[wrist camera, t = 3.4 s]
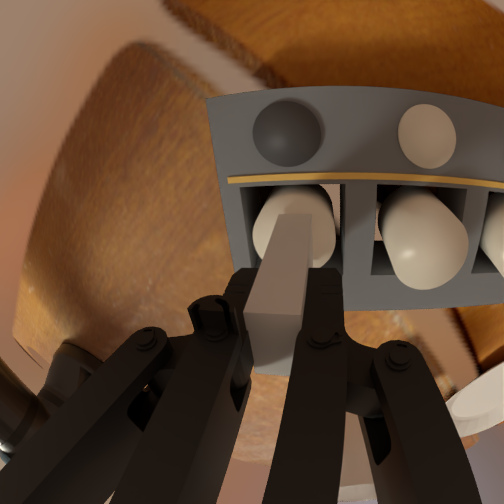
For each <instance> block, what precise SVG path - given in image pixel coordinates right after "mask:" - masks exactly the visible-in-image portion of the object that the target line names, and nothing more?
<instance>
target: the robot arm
mask: <svg viewBox="0 0 504 504" xmlns="http://www.w3.org/2000/svg"><path fill="white" fill-rule="evenodd" d="M187 309H188V312H189V315H190V318H191V321H192V324H193V327H194V330H195V331H194V333H193V334H190V335H185V336H177V337H169V338H168V337H167V335H166V332H165V331H164V330H162V329H161V328H159V327H145V328H143V329H140V330H138V331H137V332H135V333H134V334H132V335H131V336H130V337H129V338H128V339H127V340H126V341H125V342H124V343H123V344H122V345H121V346H120V347H119V348H118V349H117V350H116V351H115V352H114V353H113V354H112V355H111V356H110V357H109V358H108V359H107V360H106V361H105V362H104V363H102V362H100V361H99V360H98V359H96V358H95V357H93V356H92V355H90V354H89V353H87V352H86V351H84V350H82V349H80V348H78V347H76V346H74V345H71V344H62V345H61V346H60V347H59V348H58V349H57V351H56V352H55V354H54V356H53V361H52V363H51V366H50V368H49V372H48V375H47V378H46V381H45V384H44V386H43V388H42V389H41V390H40V392H39V393H38V395H37V396H36V395H35V394H34V393H33V392H32V391H31V390H30V389H29V388H28V387H27V386H26V385H25V384H24V383H23V382H22V381H21V380H20V379H19V378H18V377H17V376H16V374H15V373H14V372H13V371H12V370H11V369H10V368H9V367H8V366H7V364H6V363H5V362H4V361H3V360H2V359H1V357H0V457H1V459H2V460H3V461H4V462H5V463H6V465H5V466H4V467H3V469H2V470H1V471H0V504H104V503H105V502H106V501H107V499H108V498H109V497H110V496H111V495H112V493H113V492H114V491H115V492H114V494H113V496H112V499H111V501H110V503H109V504H216V502H217V498H218V496H219V492H220V490H221V486H222V483H223V480H224V477H225V474H226V471H227V468H228V464H229V461H230V458H231V455H232V452H233V448H234V445H235V442H236V438H237V435H238V432H239V428H240V425H241V421H242V418H243V415H244V411H245V408H246V404H247V401H248V397H249V394H250V390H251V377H250V374H251V371H252V367H253V365H254V370H255V373H259V374H269V375H282V376H290V378H289V383H288V389H287V394H286V399H285V404H284V409H283V414H282V419H281V424H280V429H279V434H278V438H277V443H276V447H275V452H274V456H273V460H272V465H271V469H270V473H269V477H268V481H267V485H266V489H265V493H264V497H263V501H262V504H337V502H338V495H339V487H340V479H341V470H342V461H343V449H344V437H345V420H346V412H349V413H352V414H355V415H358V419H359V423H360V427H361V431H362V435H363V439H364V443H365V447H366V451H367V455H368V459H369V464H370V468H371V473H372V477H373V482H374V486H375V491H376V496H377V501H378V504H482V502H481V498H480V495H479V492H478V488H477V485H476V481H475V478H474V475H473V472H472V470H471V466H470V463H469V460H468V458H467V455H466V452H465V449H464V447H463V444H462V442H461V439H460V436H459V434H458V431H457V429H456V427H455V424H454V422H453V419H452V417H451V415H450V412H449V410H448V408H447V406H446V403H445V401H444V399H443V397H442V395H441V392H440V390H439V388H438V386H437V384H436V382H435V380H434V378H433V376H432V374H431V372H430V370H429V368H428V366H427V364H426V362H425V360H424V358H423V356H422V354H421V353H420V351H419V350H418V349H417V348H416V347H415V346H414V345H412V344H410V343H409V342H406V341H401V340H391V341H388V342H385V343H383V344H381V345H380V346H379V347H378V348H377V349H376V348H372V347H368V346H364V345H362V344H359V343H357V342H355V341H354V340H352V339H351V338H350V337H349V336H348V334H347V332H346V331H345V326H344V303H343V285H342V275H341V274H340V273H339V272H338V270H337V269H336V268H313V235H312V214H279V215H278V218H277V220H276V223H275V226H274V229H273V232H272V234H271V237H270V240H269V243H268V245H267V248H266V251H265V254H264V257H263V259H262V262H261V265H260V268H240V269H239V270H238V271H237V272H236V273H234V274H233V275H232V277H231V279H230V281H229V283H228V286H227V287H226V289H225V293H224V294H223V296H221V295H209V296H205V297H202V298H199V299H198V300H196V301H194V302H193V303H192V304H191V305H190V306H189V307H188V308H187ZM147 384H148V386H147V387H146V388H144V387H145V386H146V385H147ZM143 388H144V389H143Z"/></svg>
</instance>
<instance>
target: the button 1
mask: <svg viewBox="0 0 504 504" xmlns="http://www.w3.org/2000/svg"><path fill="white" fill-rule="evenodd" d="M279 214H312V235H313V268H320V267H321V266H323V265H324V264H325V263H326V262H327V261H328V260H329V258H330V257H331V255H332V253H333V251H334V248H335V243H336V234H335V224H334V215H333V207H332V201H331V199H330V197H329V195H328V193H327V192H326V190H325V189H324V188H323V187H322V186H320V185H319V184H301V185H276V186H275V187H274V188H273V190H272V191H271V192H270V194H269V196H268V198H267V200H266V202H265V204H264V206H263V208H262V210H261V212H260V214H259V216H258V218H257V220H256V222H255V225H254V228H253V243H254V246H255V249H256V251H257V253H258V255H259V256H260V258H261V259H263V257H264V254H265V251H266V248H267V245H268V243H269V240H270V237H271V234H272V232H273V229H274V226H275V223H276V220H277V218H278V215H279Z"/></svg>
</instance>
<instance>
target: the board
mask: <svg viewBox="0 0 504 504" xmlns="http://www.w3.org/2000/svg"><path fill="white" fill-rule="evenodd" d="M206 105H207V111H208V118H209V124H210V131H211V137H212V144H213V150H214V156H215V162H216V168H217V174H218V180H219V186H220V192H221V198H222V204H223V210H224V216H225V221H226V227H227V233H228V238H229V244H230V250H231V255H232V261H233V266H234V272H235V273H236V272H237V271H238V270H239V269H240V268H260V265H261V262H262V259H261V258H260V256H259V255H258V253H257V251H256V249H255V246H254V243H253V228H254V225H255V222H256V220H257V218H258V216H259V214H260V212H261V203H260V195H259V187H258V186H273V185H301V184H340V241H336V243H335V248H334V251H333V253H332V255H331V257H330V258H329V260H328V261H327V262H326V263H325V264H324V265H323V266H321V267H320V268H336V269H337V270H338V272H339V273H340V274H341V275H342V285H343V303H344V311H372V310H411V309H434V308H452V307H466V306H479V305H490V304H500V303H504V277H503V276H502V275H501V273H500V272H499V271H498V269H497V268H496V267H495V265H494V264H493V263H492V261H491V260H490V259H489V257H488V256H487V255H486V254H485V252H484V251H483V250H482V249H481V247H480V246H479V241H480V237H481V232H482V227H483V222H484V217H485V212H486V206H487V200H488V193H489V191H493V192H501V193H504V108H503V107H499V106H496V105H492V104H488V103H484V102H480V101H476V100H471V99H466V98H462V97H456V96H451V95H445V94H439V93H433V92H426V91H418V90H409V89H399V88H387V87H369V86H311V87H293V88H280V89H269V90H260V91H252V92H244V93H237V94H230V95H224V96H218V97H212V98H207V99H206ZM377 184H389V185H415V186H434V187H437V198H438V199H439V200H440V201H441V202H442V203H443V204H444V205H445V206H446V207H447V208H448V209H449V210H450V211H451V212H452V213H453V214H454V215H455V216H456V217H457V218H458V219H459V220H460V221H461V223H462V224H463V225H464V227H465V229H466V232H467V235H468V242H469V246H468V253H467V256H466V259H465V262H464V264H463V265H462V267H461V269H460V270H459V271H458V273H457V274H456V275H455V276H454V277H453V278H452V279H451V280H449V281H448V282H446V283H445V284H443V285H441V286H439V287H436V288H433V289H427V290H419V289H414V288H411V287H409V286H407V285H405V284H404V283H402V282H401V281H400V280H399V278H398V277H397V276H396V274H395V272H394V269H393V266H392V263H391V260H390V258H389V255H388V252H387V249H386V247H385V244H384V242H383V241H374V234H375V220H376V200H377Z"/></svg>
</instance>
